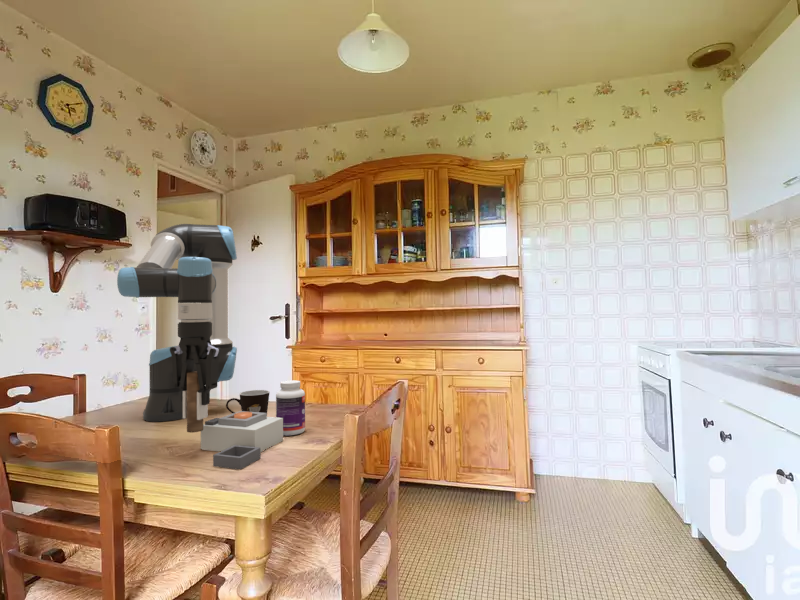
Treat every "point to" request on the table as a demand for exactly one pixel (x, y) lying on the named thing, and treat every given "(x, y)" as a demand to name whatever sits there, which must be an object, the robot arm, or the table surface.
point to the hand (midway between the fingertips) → (195, 417)
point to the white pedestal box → (242, 432)
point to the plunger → (243, 415)
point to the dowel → (193, 403)
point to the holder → (236, 457)
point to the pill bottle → (291, 407)
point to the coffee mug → (252, 401)
